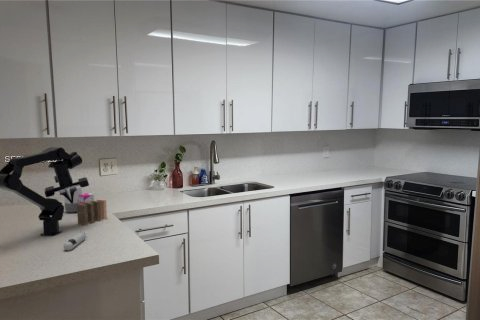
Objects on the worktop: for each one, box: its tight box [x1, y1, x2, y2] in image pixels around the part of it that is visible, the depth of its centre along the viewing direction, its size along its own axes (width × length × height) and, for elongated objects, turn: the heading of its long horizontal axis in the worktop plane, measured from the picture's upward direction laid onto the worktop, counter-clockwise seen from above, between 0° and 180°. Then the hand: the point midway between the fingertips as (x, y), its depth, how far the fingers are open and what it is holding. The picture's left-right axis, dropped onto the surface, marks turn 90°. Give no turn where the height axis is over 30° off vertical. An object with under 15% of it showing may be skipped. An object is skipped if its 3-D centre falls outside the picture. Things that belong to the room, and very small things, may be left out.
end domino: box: [96, 198, 108, 220], centre depth 188 cm, size 2×5×10 cm, turn 64°
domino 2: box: [84, 202, 95, 224], centre depth 181 cm, size 2×5×10 cm, turn 64°
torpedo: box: [63, 224, 88, 251], centre depth 148 cm, size 18×5×6 cm, turn 2°
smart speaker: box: [64, 186, 83, 214], centre depth 203 cm, size 10×9×14 cm
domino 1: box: [77, 204, 89, 226], centre depth 177 cm, size 2×5×10 cm, turn 64°
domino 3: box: [90, 200, 102, 222], centre depth 185 cm, size 2×5×10 cm, turn 64°
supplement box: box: [79, 192, 95, 204], centre depth 196 cm, size 6×6×12 cm
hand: (72, 203), depth 173 cm, fingers closed
